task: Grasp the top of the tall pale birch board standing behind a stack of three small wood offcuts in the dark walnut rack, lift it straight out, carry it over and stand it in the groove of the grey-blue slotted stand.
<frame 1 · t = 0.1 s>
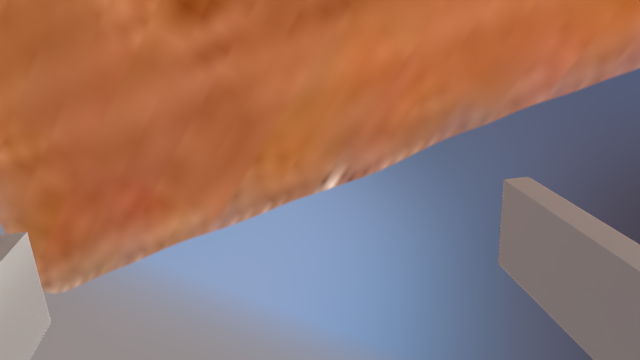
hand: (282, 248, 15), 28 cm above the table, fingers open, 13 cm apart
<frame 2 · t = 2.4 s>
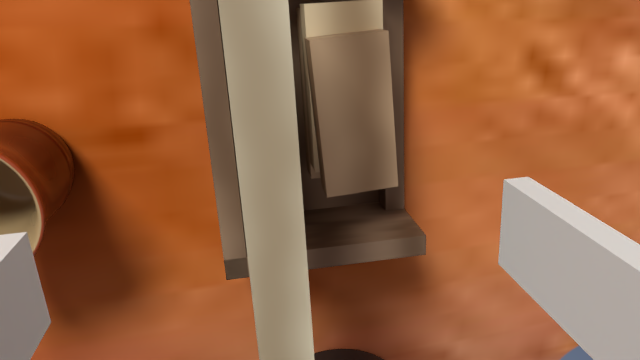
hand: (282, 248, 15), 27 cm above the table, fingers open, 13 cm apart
mug: (23, 182, 40), on the table
rack: (303, 89, 40), on the table
offcut top: (348, 110, 35), point 6 cm above the table, touching offcut mid
offcut mid: (340, 83, 37), point 3 cm above the table, touching offcut low, offcut top
birch board: (251, 96, 39), point 1 cm above the table, touching rack
offcut low: (334, 89, 40), point 1 cm above the table, touching offcut mid, rack
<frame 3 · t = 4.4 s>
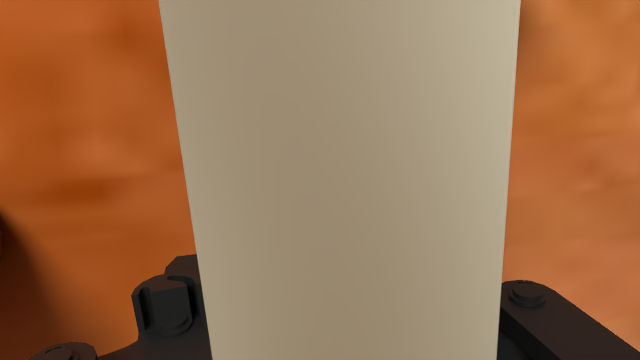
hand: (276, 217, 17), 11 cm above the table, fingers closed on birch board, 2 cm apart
birch board: (261, 136, 27), point 1 cm above the table, touching gripper, rack
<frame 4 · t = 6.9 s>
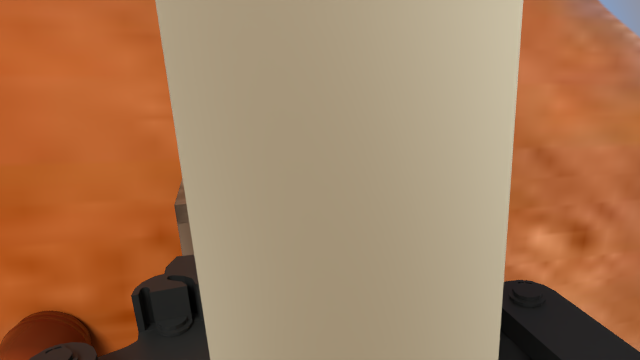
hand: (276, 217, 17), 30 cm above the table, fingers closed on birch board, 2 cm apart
mug: (51, 353, 49), on the table
rack: (275, 275, 50), on the table
birch board: (261, 136, 27), point 19 cm above the table, touching gripper
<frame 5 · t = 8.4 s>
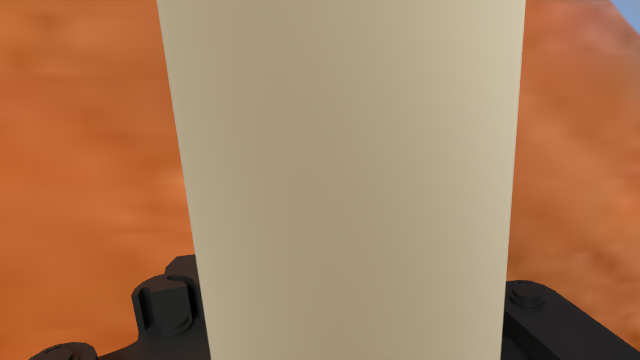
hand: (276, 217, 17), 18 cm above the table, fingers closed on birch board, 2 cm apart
birch board: (261, 135, 26), point 8 cm above the table, touching gripper
when the fingers open (13 cm above the table, at t = 9.7 s): birch board drops 2 cm, resting on slotted stand.
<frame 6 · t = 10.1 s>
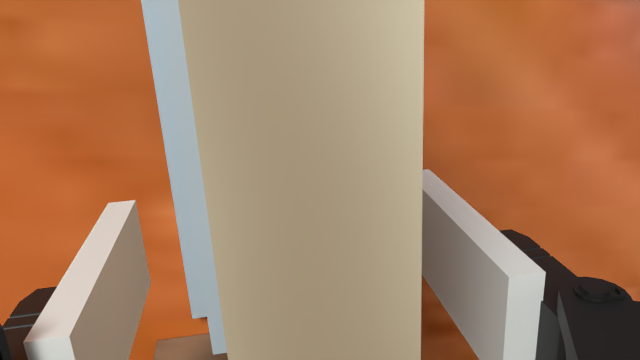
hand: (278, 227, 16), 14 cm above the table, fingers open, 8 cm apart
slotted stand: (258, 125, 29), on the table
birch board: (258, 129, 28), point 1 cm above the table, touching slotted stand
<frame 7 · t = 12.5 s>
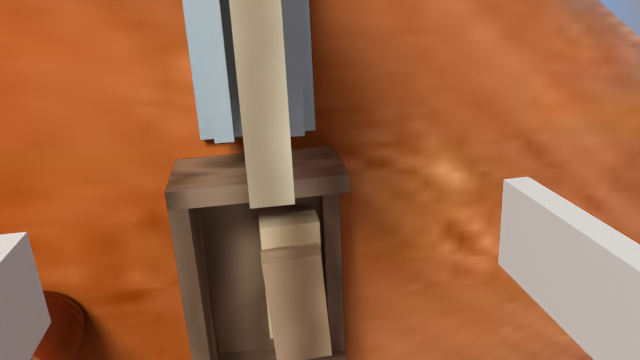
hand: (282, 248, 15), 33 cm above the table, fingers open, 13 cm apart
slotted stand: (246, 1, 43), on the table
mug: (46, 331, 51), on the table
rack: (265, 259, 51), on the table
offcut top: (295, 296, 46), point 6 cm above the table, touching offcut mid
offcut mid: (291, 268, 48), point 3 cm above the table, touching offcut low, offcut top
birch board: (246, 2, 42), point 1 cm above the table, touching slotted stand
offcut low: (289, 262, 51), point 1 cm above the table, touching offcut mid, rack
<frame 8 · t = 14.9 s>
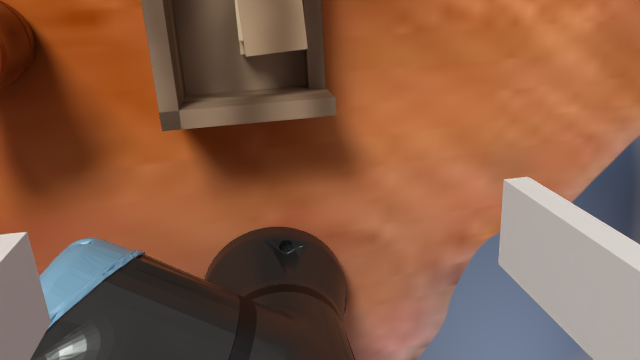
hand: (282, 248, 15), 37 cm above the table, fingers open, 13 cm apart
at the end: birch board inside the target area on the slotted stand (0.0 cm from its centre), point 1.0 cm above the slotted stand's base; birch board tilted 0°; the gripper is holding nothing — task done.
